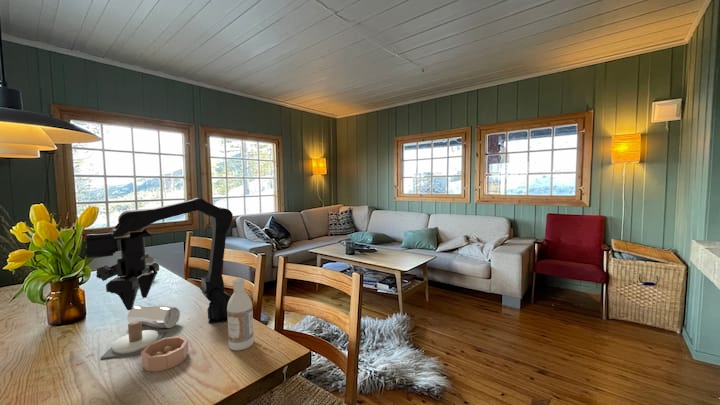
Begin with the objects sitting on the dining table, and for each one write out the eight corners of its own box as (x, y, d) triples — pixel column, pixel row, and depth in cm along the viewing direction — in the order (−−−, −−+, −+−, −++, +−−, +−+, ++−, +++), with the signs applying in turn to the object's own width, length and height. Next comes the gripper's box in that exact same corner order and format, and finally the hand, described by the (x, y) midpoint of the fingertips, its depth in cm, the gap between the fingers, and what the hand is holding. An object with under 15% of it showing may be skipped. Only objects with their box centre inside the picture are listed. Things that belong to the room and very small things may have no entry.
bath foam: (223, 349, 86) (220, 282, 85) (239, 337, 93) (237, 274, 91) (243, 353, 84) (240, 284, 83) (258, 340, 91) (256, 276, 89)
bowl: (192, 347, 87) (191, 334, 87) (179, 368, 78) (179, 354, 77) (153, 352, 85) (152, 339, 85) (136, 374, 75) (135, 359, 75)
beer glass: (131, 330, 101) (168, 333, 98) (122, 315, 98) (160, 318, 95) (147, 314, 107) (183, 316, 104) (139, 299, 104) (175, 302, 101)
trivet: (166, 332, 96) (166, 330, 96) (149, 353, 85) (149, 351, 85) (124, 337, 94) (123, 335, 94) (100, 359, 82) (100, 357, 82)
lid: (164, 331, 96) (162, 313, 95) (148, 350, 85) (146, 329, 85) (124, 336, 93) (123, 317, 93) (103, 356, 83) (101, 335, 82)
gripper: (119, 247, 95) (123, 294, 97) (80, 263, 77) (85, 321, 79) (158, 245, 98) (161, 291, 99) (129, 260, 80) (133, 315, 81)
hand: (137, 303), depth 90 cm, fingers open, 9 cm apart
